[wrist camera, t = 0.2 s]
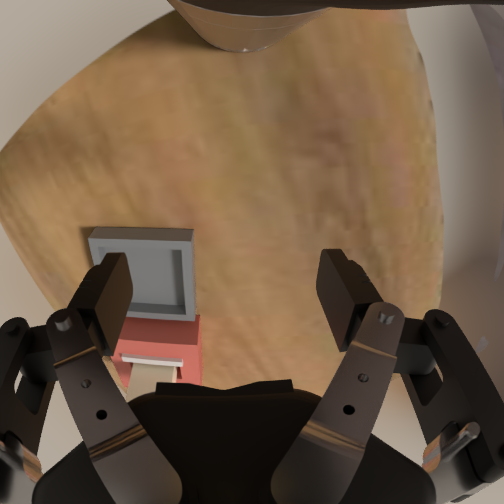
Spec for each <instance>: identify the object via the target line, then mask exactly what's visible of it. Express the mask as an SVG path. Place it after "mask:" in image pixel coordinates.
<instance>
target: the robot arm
mask: <svg viewBox="0 0 504 504" xmlns="http://www.w3.org/2000/svg"><path fill="white" fill-rule="evenodd" d="M167 1H168V2H169V3H170V4H171V5H172V6H173V7H174V8H175V9H176V10H177V11H178V13H179V14H180V15H181V16H182V17H183V18H184V19H185V20H186V21H187V22H188V23H189V24H190V25H191V27H192V28H193V29H194V30H195V31H196V32H197V33H198V34H199V36H201V37H202V38H203V39H204V40H205V41H206V42H208V43H210V44H211V45H213V46H215V47H217V48H220V49H223V50H226V51H231V52H238V53H239V52H253V51H258V50H262V49H265V48H267V47H270V46H272V45H273V44H275V43H277V42H278V41H280V40H281V39H283V38H285V37H286V36H288V35H289V34H291V33H292V32H294V31H295V30H297V29H299V28H300V27H302V26H303V25H305V24H307V23H308V22H310V21H311V20H313V19H315V18H316V17H318V16H320V15H321V14H323V13H324V12H326V11H328V10H330V9H332V8H333V7H336V8H351V9H370V10H390V9H407V8H419V7H430V6H441V5H459V4H490V5H491V4H492V5H504V0H167ZM316 290H317V295H318V297H319V300H320V302H321V305H322V308H323V310H324V313H325V315H326V318H327V320H328V323H329V325H330V328H331V331H332V333H333V336H334V338H335V341H336V344H337V346H338V349H339V352H344V351H347V352H346V354H345V356H344V358H343V360H342V362H341V364H340V366H339V368H338V369H337V371H336V373H335V375H334V377H333V379H332V381H331V383H330V384H329V386H328V388H327V390H326V392H325V394H324V395H323V397H320V396H318V395H316V394H313V393H311V392H308V391H304V390H300V389H293V384H292V380H291V379H287V380H275V381H259V382H255V383H251V384H247V385H244V386H240V387H236V388H232V389H227V390H219V389H214V388H209V387H205V386H200V385H196V384H191V383H171V382H156V389H155V392H150V393H146V394H143V395H141V396H138V397H136V398H134V399H132V400H130V401H129V402H126V400H125V399H124V397H123V396H122V394H121V392H120V390H119V389H118V387H117V385H116V384H115V382H114V380H113V378H112V376H111V375H110V373H109V371H108V369H107V367H106V366H105V364H104V362H103V360H102V357H103V356H114V352H115V349H116V346H117V342H118V339H119V336H120V333H121V330H122V327H123V324H124V321H125V318H126V315H127V312H128V309H129V306H130V303H131V300H132V297H133V283H132V279H131V274H130V270H129V265H128V260H127V256H126V254H125V253H124V252H108V253H106V255H105V256H104V258H103V260H102V262H101V263H100V264H96V265H95V266H94V267H93V268H91V269H90V270H89V271H88V272H87V274H86V275H85V277H84V279H83V281H82V282H81V284H80V285H79V288H78V289H77V291H76V292H75V294H74V296H73V298H72V299H71V301H70V303H69V305H68V307H67V308H64V309H60V310H58V311H56V312H54V313H53V314H52V315H51V316H50V317H49V318H48V320H47V322H46V325H41V326H36V327H31V328H30V327H29V325H28V323H27V321H26V320H25V319H24V318H21V317H15V318H12V319H10V320H8V321H6V322H5V323H4V324H3V325H2V326H1V328H0V504H445V503H447V502H449V501H450V502H454V503H455V502H460V501H462V500H464V499H466V498H468V497H470V496H472V495H473V494H475V493H477V492H479V491H480V490H482V489H484V488H486V487H487V486H489V485H491V484H492V483H494V482H495V481H497V480H498V479H500V478H501V477H503V476H504V403H503V401H502V399H501V397H500V395H499V393H498V391H497V389H496V387H495V386H494V384H493V382H492V380H491V378H490V376H489V375H488V373H487V371H486V369H485V368H484V366H483V364H482V362H481V361H480V359H479V358H478V356H477V354H476V352H475V351H474V349H473V348H472V346H471V344H470V343H469V341H468V340H467V338H466V336H465V335H464V333H463V332H462V330H461V329H460V327H459V326H458V324H457V323H456V321H455V320H454V318H453V317H452V316H451V315H449V314H448V313H446V312H444V311H442V310H438V309H432V310H429V311H427V312H426V314H425V316H424V318H423V320H420V319H413V318H406V317H405V316H404V314H403V312H402V311H401V310H400V309H399V308H398V307H397V306H395V305H393V304H391V303H387V302H384V301H383V299H382V298H381V296H380V295H379V293H378V291H377V290H376V288H375V287H374V285H373V284H372V282H371V281H370V279H369V277H368V276H367V274H366V273H365V271H364V270H363V268H362V267H361V266H360V265H358V264H357V263H356V262H354V261H353V260H348V259H347V257H346V256H345V254H344V253H343V251H342V250H341V249H323V250H322V252H321V256H320V262H319V268H318V274H317V280H316ZM436 364H437V365H438V367H439V369H440V370H441V372H442V375H443V382H442V380H441V378H440V376H439V374H438V372H437V370H436V368H435V365H436ZM19 370H20V371H21V373H22V374H23V376H22V378H21V381H20V383H19V386H18V389H17V392H16V394H15V390H14V384H15V380H16V378H17V375H18V373H19ZM393 373H400V374H401V377H402V379H403V382H404V384H405V387H406V389H407V392H408V394H409V397H410V399H411V402H412V404H413V407H414V410H415V413H416V415H417V418H418V420H419V423H420V426H421V429H422V432H423V435H424V438H425V440H426V443H427V447H426V448H425V450H424V453H423V464H422V467H421V466H419V465H418V464H416V463H415V462H413V461H412V460H410V459H409V458H407V457H406V456H404V455H403V454H401V453H400V452H398V451H397V450H395V449H393V448H392V447H391V446H389V445H388V444H386V443H385V442H383V441H382V440H380V439H379V438H377V437H376V436H375V435H373V434H372V433H371V432H372V429H373V427H374V424H375V422H376V419H377V417H378V414H379V412H380V409H381V406H382V403H383V400H384V398H385V395H386V392H387V389H388V386H389V383H390V380H391V377H392V374H393ZM58 380H59V383H60V386H61V388H62V391H63V394H64V396H65V399H66V401H67V404H68V407H69V409H70V411H71V414H72V416H73V418H74V421H75V423H76V425H77V427H78V430H79V432H80V434H81V436H82V438H83V441H82V442H81V443H80V444H79V445H78V446H76V447H75V448H74V449H73V450H72V451H71V452H70V453H68V454H67V455H66V456H65V457H64V458H63V459H61V460H60V461H59V462H58V463H57V464H55V465H54V466H53V467H52V468H51V469H49V470H48V471H47V472H46V473H45V474H44V475H43V473H42V472H41V464H40V461H39V459H38V458H37V452H38V447H39V442H40V437H41V433H42V429H43V425H44V421H45V417H46V413H47V409H48V405H49V402H50V399H51V395H52V391H53V388H54V384H55V382H56V381H58Z"/></svg>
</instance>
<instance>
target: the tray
mask: <svg viewBox="0 0 504 504" xmlns="http://www.w3.org/2000/svg"><path fill="white" fill-rule="evenodd" d="M88 242H89V246H90V250H91V255H92V259H93V263H94V266H95V265H96V264H100V263H101V262H102V260H103V258H104V256H105V255H106V253H108V252H124V253H125V254H126V256H127V260H128V265H129V270H130V274H131V279H132V283H133V297H132V300H131V303H130V306H129V309H128V312H127V315H126V317H137V318H150V319H164V320H181V321H195V316H196V288H195V261H194V229H166V228H126V227H95V229H94V230H93V232H92V233H91V234H90V236H89V237H88Z"/></svg>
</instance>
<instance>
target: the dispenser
mask: <svg viewBox="0 0 504 504" xmlns="http://www.w3.org/2000/svg"><path fill="white" fill-rule="evenodd" d="M111 359H112V361H113V363H114V366H115V368H116V370H117V372H118V375H119V377H120V379H121V381H122V383H123V385H124V387H128V385H129V381H130V376H131V371H132V367H133V363H143V364H153V365H165V366H178V369H177V378H176V383H191V384H196V385H200V386H202V376H203V361H202V345H201V327H200V315H196V316H195V321H181V320H164V319H150V318H137V317H126V318H125V321H124V324H123V327H122V330H121V333H120V336H119V339H118V342H117V346H116V349H115V352H114V356H111Z"/></svg>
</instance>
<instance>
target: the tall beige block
mask: <svg viewBox="0 0 504 504" xmlns="http://www.w3.org/2000/svg"><path fill="white" fill-rule="evenodd" d="M177 369H178V366H165V365H153V364H143V363H133V367H132V371H131V376H130V381H129V385H128V390H127V395H126V402H129V401H130V400H132V399H134V398H136V397H138V396H141V395H143V394H146V393H150V392H155V389H156V382H171V383H176V378H177Z"/></svg>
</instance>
